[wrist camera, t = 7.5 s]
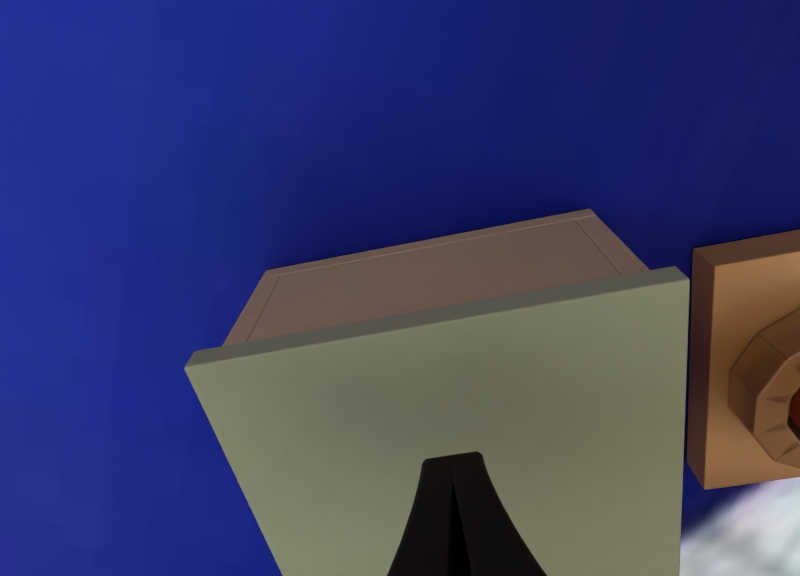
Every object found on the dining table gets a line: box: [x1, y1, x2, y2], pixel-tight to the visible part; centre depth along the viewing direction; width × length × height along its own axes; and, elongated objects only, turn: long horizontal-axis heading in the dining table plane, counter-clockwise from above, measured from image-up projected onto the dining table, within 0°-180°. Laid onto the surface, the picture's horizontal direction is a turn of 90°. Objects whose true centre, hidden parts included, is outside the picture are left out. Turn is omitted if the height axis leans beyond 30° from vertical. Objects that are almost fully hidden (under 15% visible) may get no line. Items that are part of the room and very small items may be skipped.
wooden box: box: [222, 209, 649, 346], centre depth 20 cm, size 13×13×7 cm
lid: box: [185, 266, 690, 576], centre depth 16 cm, size 13×13×1 cm
